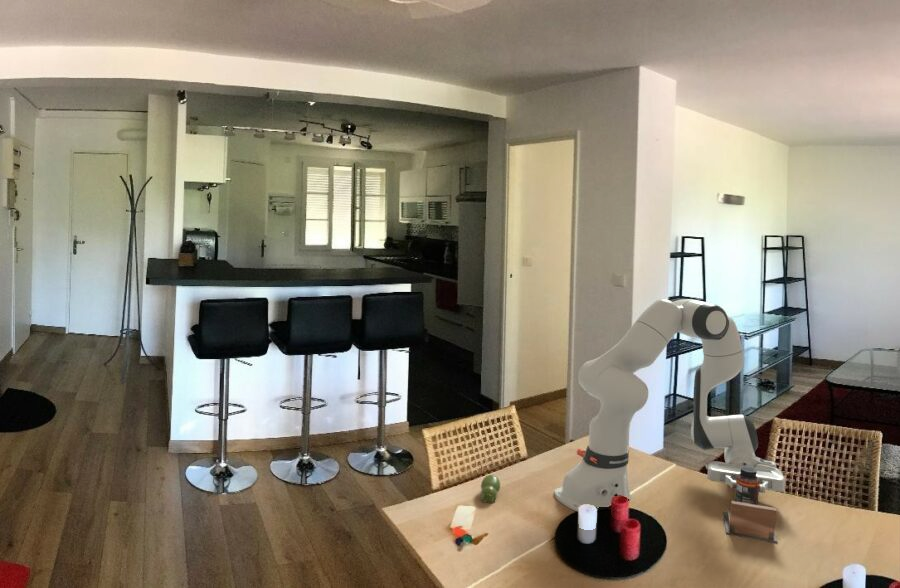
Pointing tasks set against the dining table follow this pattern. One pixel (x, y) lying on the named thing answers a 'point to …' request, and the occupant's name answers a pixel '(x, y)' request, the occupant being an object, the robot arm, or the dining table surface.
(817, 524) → the dining table surface
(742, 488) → the supplement bottle
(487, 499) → the green rounded lumpy piece
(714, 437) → the robot arm
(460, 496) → the dining table surface
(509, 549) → the dining table surface
